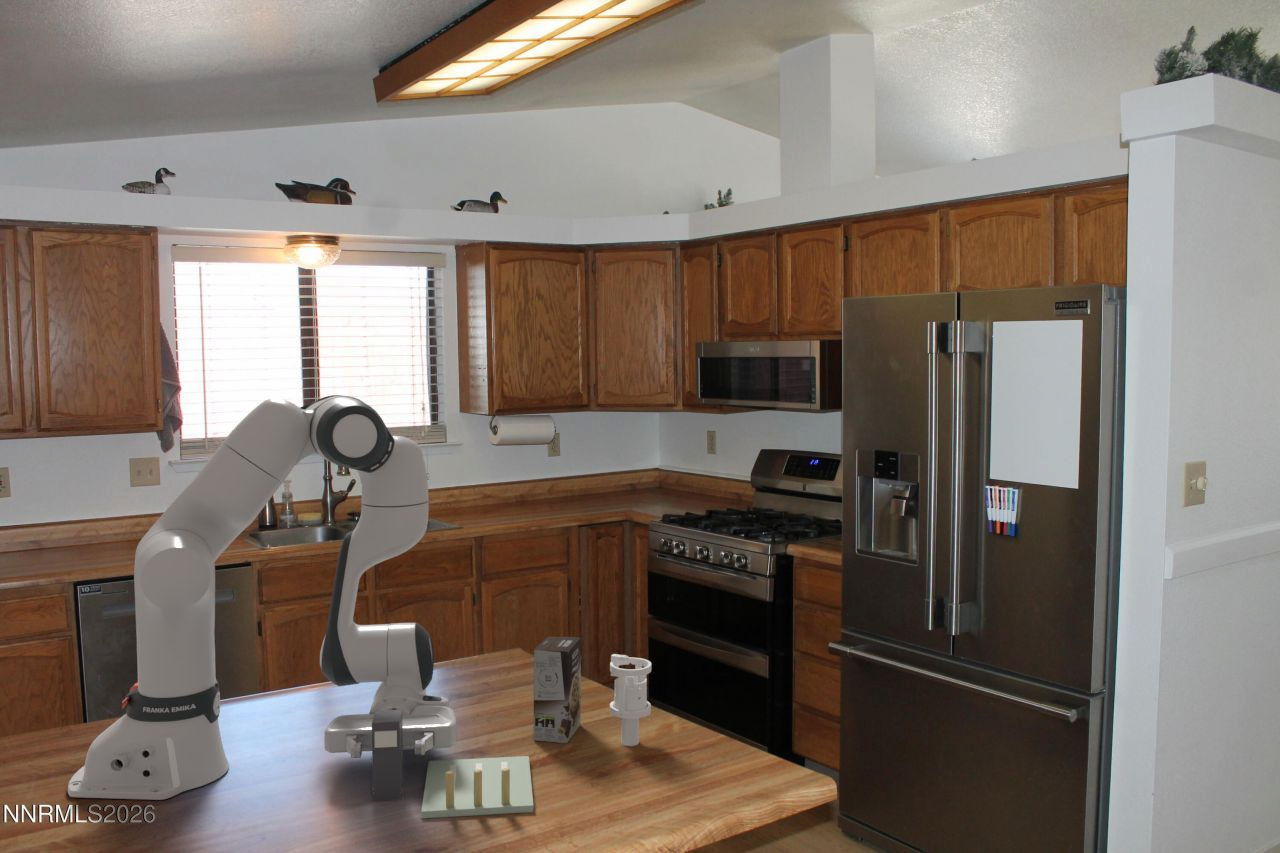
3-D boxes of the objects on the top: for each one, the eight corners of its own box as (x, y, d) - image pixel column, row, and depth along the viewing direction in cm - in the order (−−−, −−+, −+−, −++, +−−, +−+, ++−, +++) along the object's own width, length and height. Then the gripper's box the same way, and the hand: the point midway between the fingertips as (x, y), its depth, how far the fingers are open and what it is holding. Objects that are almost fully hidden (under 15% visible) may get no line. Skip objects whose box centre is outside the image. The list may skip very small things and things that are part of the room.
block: (372, 802, 151) (371, 723, 150) (376, 787, 156) (375, 710, 155) (400, 800, 152) (399, 722, 151) (403, 785, 157) (402, 709, 156)
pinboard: (421, 818, 146) (421, 777, 146) (428, 766, 164) (428, 730, 163) (533, 811, 148) (533, 772, 148) (528, 761, 166) (528, 726, 166)
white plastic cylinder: (620, 732, 179) (621, 648, 178) (657, 739, 176) (658, 654, 175) (602, 746, 173) (602, 659, 172) (639, 753, 170) (640, 665, 169)
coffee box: (568, 744, 174) (568, 651, 172) (532, 741, 175) (532, 649, 174) (582, 724, 183) (582, 636, 181) (547, 722, 184) (547, 634, 183)
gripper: (330, 702, 165) (315, 734, 152) (458, 697, 168) (455, 728, 155) (330, 740, 166) (316, 775, 152) (458, 734, 169) (455, 768, 155)
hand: (387, 751), depth 154 cm, fingers open, 8 cm apart
